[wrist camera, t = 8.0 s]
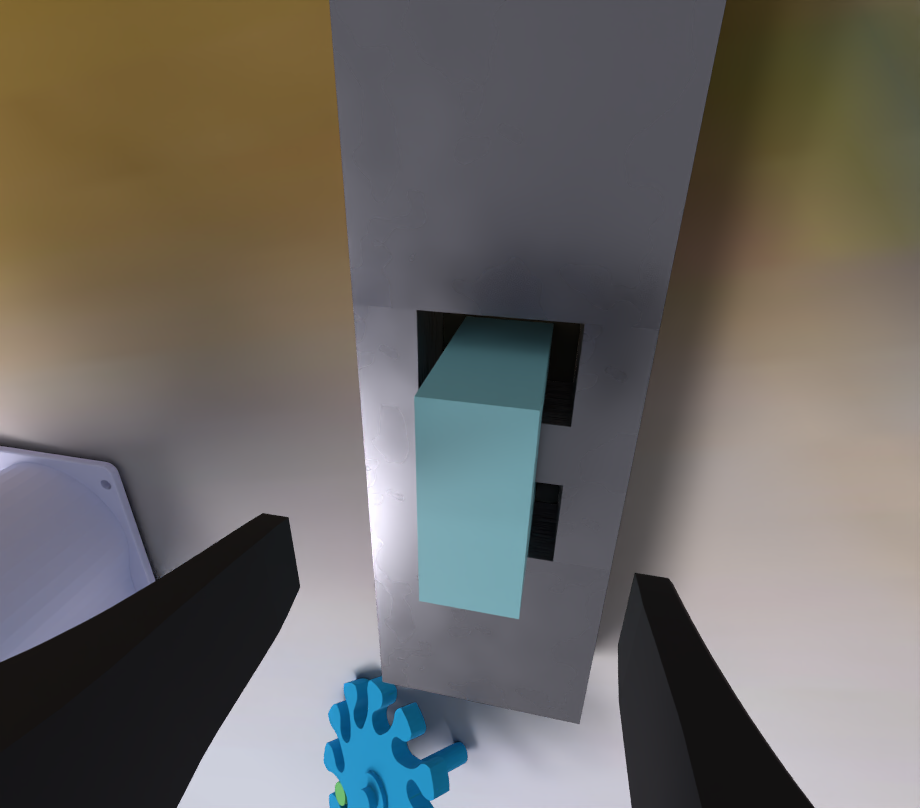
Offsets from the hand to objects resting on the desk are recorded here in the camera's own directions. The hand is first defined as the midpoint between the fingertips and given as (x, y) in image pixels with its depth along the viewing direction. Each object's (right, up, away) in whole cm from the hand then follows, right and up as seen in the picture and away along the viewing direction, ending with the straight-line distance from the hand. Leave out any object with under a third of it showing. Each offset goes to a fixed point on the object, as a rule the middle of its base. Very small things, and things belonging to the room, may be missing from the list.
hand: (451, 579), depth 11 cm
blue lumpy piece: (-3, -13, +17) cm, 22 cm away
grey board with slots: (+2, +4, +7) cm, 8 cm away
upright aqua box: (+2, +3, +7) cm, 8 cm away
